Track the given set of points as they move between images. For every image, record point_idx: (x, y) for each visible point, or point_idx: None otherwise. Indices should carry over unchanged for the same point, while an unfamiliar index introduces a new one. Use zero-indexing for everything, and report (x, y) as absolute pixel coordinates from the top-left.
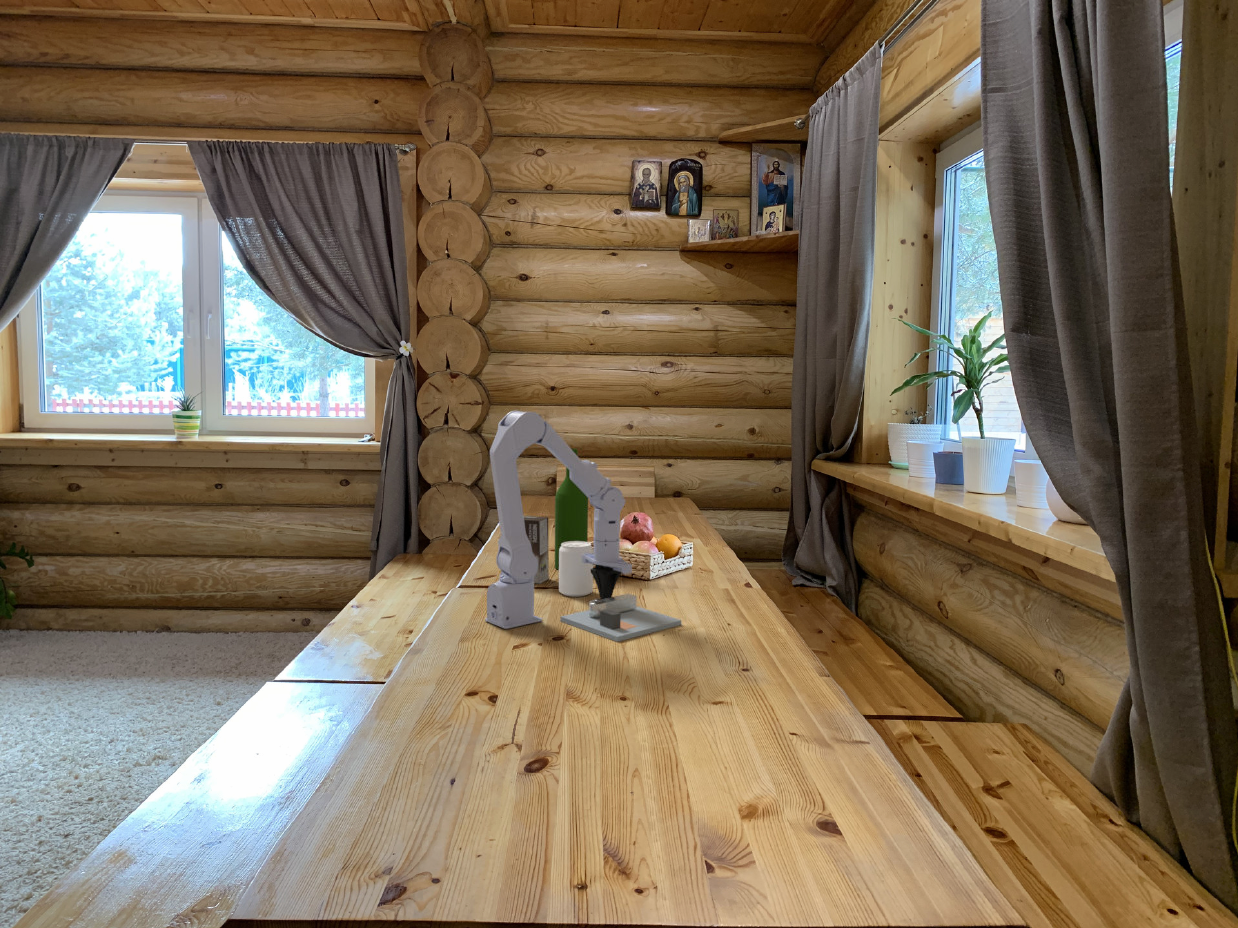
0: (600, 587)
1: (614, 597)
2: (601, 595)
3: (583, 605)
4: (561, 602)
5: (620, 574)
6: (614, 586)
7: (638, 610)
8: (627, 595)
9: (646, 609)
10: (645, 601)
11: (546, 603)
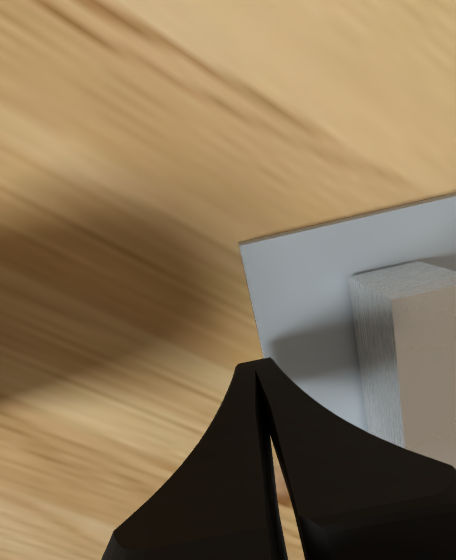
0: (275, 493)
1: (423, 432)
2: (271, 437)
3: (133, 406)
4: (48, 466)
5: (422, 456)
6: (311, 398)
7: (430, 256)
8: (435, 334)
9: (442, 201)
10: (191, 49)
11: (44, 519)
